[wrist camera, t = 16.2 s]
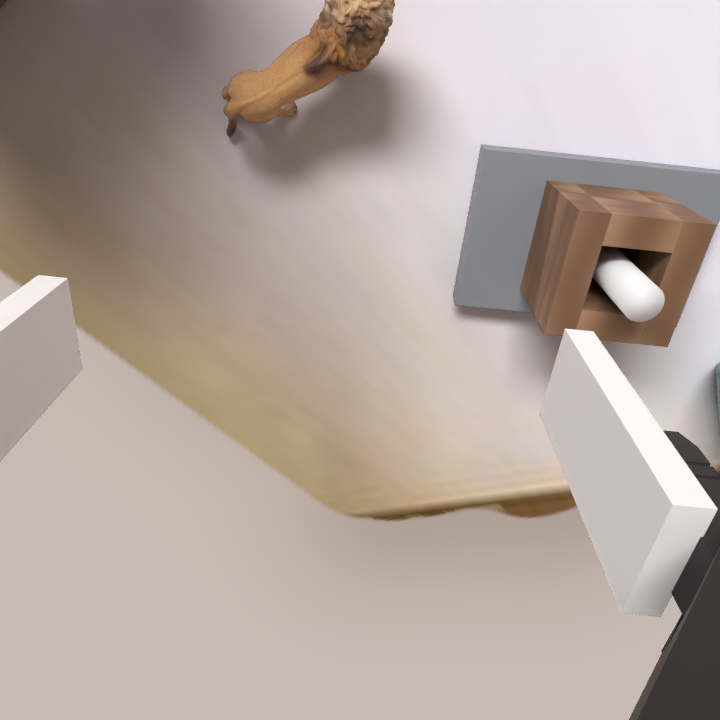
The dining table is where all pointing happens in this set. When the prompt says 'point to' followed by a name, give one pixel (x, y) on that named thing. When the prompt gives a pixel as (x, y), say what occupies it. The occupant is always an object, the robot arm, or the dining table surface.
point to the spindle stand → (520, 212)
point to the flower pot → (718, 391)
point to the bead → (631, 237)
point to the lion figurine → (311, 61)
